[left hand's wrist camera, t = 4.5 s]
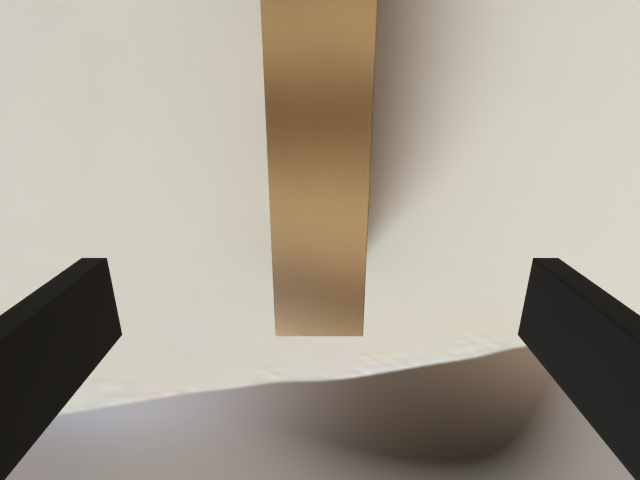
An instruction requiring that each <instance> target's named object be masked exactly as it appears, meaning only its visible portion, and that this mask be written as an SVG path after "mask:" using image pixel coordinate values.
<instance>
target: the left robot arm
mask: <svg viewBox="0 0 640 480" xmlns="http://www.w3.org/2000/svg"><path fill="white" fill-rule="evenodd" d="M121 335H122V332H121V327H120V322H119V317H118V312H117V307H116V302H115V297H114V292H113V287H112V282H111V277H110V272H109V267H108V262H107V258H81V259H80V260H78V261H77V262H76V263H74V264H73V265H71V266H70V267H68V268H67V269H66V270H64V271H63V272H61V273H60V274H59V275H57V276H56V277H54V278H53V279H51V280H50V281H49V282H47V283H46V284H44V285H43V286H42V287H40V288H39V289H37V290H36V291H34V292H33V293H32V294H30V295H29V296H27V297H26V298H24V299H23V300H22V301H20V302H19V303H17V304H16V305H15V306H13V307H12V308H10V309H9V310H7V311H6V312H5V313H3V314H2V315H0V480H5V479H6V477H7V476H8V475H9V474H10V473H11V471H12V470H13V469H14V468H15V466H16V465H17V464H18V463H19V461H20V460H21V459H22V458H23V456H24V455H25V454H26V453H27V452H28V450H29V449H30V448H31V447H32V445H33V444H34V443H35V442H36V440H37V439H38V438H39V437H40V435H41V434H42V433H43V432H44V431H45V429H46V428H47V427H48V426H49V424H50V423H51V422H52V421H53V419H54V418H55V417H56V416H57V414H58V413H59V412H60V411H61V410H62V408H63V407H64V406H65V405H66V403H67V402H68V401H69V400H70V398H71V397H72V396H73V395H74V393H75V392H76V391H77V390H78V389H79V387H80V386H81V385H82V384H83V382H84V381H85V380H86V379H87V377H88V376H89V375H90V374H91V372H92V371H93V370H94V369H95V368H96V366H97V365H98V364H99V363H100V361H101V360H102V359H103V358H104V356H105V355H106V354H107V353H108V351H109V350H110V349H111V348H112V347H113V345H114V344H115V343H116V342H117V340H118V339H119V338H120V337H121ZM518 335H519V337H520V338H521V339H522V340H523V342H524V343H525V344H526V345H527V347H528V348H529V349H530V350H531V351H532V353H533V354H534V355H535V356H536V358H537V359H538V360H539V361H540V363H541V364H542V365H543V366H544V368H545V369H546V370H547V371H548V372H549V374H550V375H551V376H552V377H553V379H554V380H555V381H556V382H557V384H558V385H559V386H560V387H561V389H562V390H563V391H564V392H565V393H566V395H567V396H568V397H569V398H570V400H571V401H572V402H573V403H574V405H575V406H576V407H577V408H578V409H579V411H580V412H581V413H582V414H583V416H584V417H585V418H586V419H587V421H588V422H589V423H590V424H591V426H592V427H593V428H594V429H595V431H596V432H597V433H598V434H599V435H600V437H601V438H602V439H603V440H604V442H605V443H606V444H607V445H608V447H609V448H610V449H611V450H612V452H613V453H614V454H615V455H616V456H617V458H618V459H619V460H620V461H621V463H622V464H623V465H624V466H625V468H626V469H627V470H628V471H629V473H630V474H631V475H632V476H633V477H634V479H635V480H640V315H638V314H637V313H635V312H634V311H633V310H631V309H630V308H628V307H627V306H625V305H624V304H623V303H621V302H620V301H618V300H617V299H616V298H614V297H613V296H611V295H610V294H608V293H607V292H606V291H604V290H603V289H601V288H600V287H598V286H597V285H596V284H594V283H593V282H591V281H590V280H589V279H587V278H586V277H584V276H583V275H581V274H580V273H579V272H577V271H576V270H574V269H573V268H572V267H570V266H569V265H567V264H566V263H564V262H563V261H562V260H560V259H559V258H533V262H532V267H531V272H530V277H529V282H528V287H527V292H526V297H525V302H524V307H523V312H522V317H521V322H520V327H519V332H518Z"/></svg>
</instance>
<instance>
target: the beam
mask: <svg viewBox="0 0 640 480" xmlns="http://www.w3.org/2000/svg"><path fill="white" fill-rule="evenodd" d="M377 1H378V0H261V22H262V44H263V66H264V88H265V111H266V133H267V155H268V178H269V200H270V222H271V244H272V267H273V289H274V311H275V333H276V336H363V322H364V299H365V276H366V253H367V230H368V207H369V184H370V161H371V139H372V116H373V93H374V70H375V47H376V24H377Z"/></svg>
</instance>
